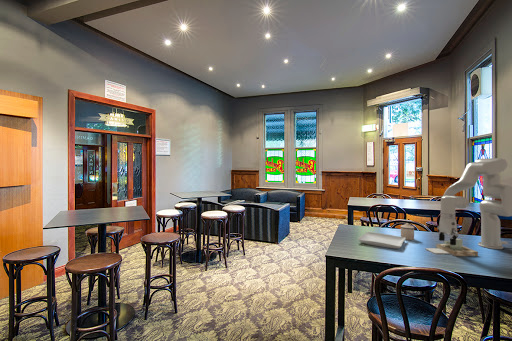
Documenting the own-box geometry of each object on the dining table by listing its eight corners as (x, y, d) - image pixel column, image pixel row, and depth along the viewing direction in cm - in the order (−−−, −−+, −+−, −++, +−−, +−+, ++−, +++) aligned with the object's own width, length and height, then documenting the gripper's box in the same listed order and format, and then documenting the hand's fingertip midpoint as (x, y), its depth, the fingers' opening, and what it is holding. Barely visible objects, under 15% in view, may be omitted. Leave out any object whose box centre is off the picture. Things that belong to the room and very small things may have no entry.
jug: (457, 250, 165) (457, 237, 165) (464, 253, 159) (464, 240, 159) (442, 250, 165) (442, 237, 165) (448, 253, 159) (448, 240, 159)
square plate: (400, 251, 163) (400, 245, 163) (356, 244, 179) (356, 238, 179) (406, 242, 184) (406, 236, 184) (366, 235, 201) (366, 231, 201)
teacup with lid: (416, 240, 187) (416, 224, 186) (403, 240, 188) (403, 224, 188) (409, 236, 198) (409, 221, 198) (397, 235, 200) (397, 221, 200)
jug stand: (457, 247, 170) (457, 244, 170) (478, 256, 154) (478, 251, 154) (436, 247, 170) (436, 243, 170) (454, 255, 154) (454, 251, 154)
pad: (439, 249, 167) (439, 248, 167) (449, 253, 158) (449, 252, 158) (425, 249, 167) (425, 248, 167) (434, 253, 158) (434, 252, 158)
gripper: (464, 218, 153) (463, 247, 153) (444, 213, 170) (443, 239, 170) (451, 218, 153) (451, 246, 153) (432, 213, 170) (432, 238, 171)
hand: (447, 242), depth 162 cm, fingers open, 9 cm apart
